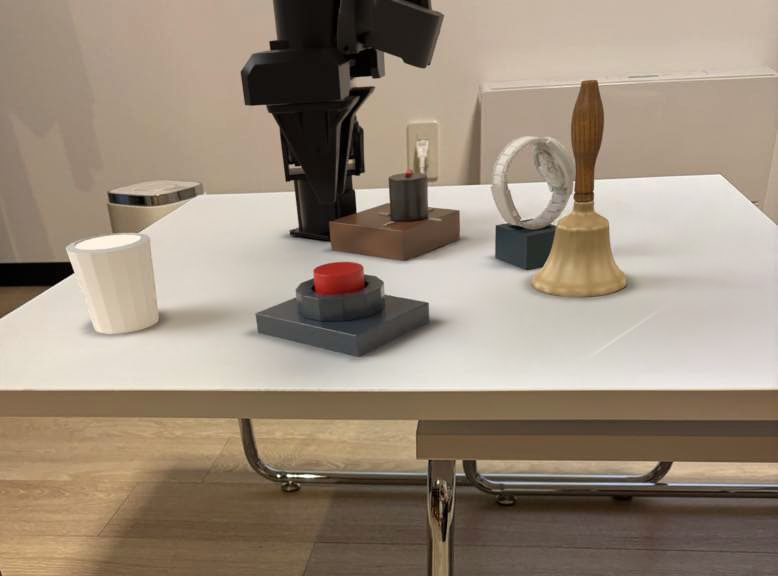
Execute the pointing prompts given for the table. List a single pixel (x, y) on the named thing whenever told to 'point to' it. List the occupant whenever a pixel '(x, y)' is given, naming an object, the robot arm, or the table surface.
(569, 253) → the hand bell
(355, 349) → the button box
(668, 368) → the table surface
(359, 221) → the dial panel
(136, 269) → the white cup
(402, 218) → the dial
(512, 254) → the watch
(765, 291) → the table surface
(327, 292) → the button
